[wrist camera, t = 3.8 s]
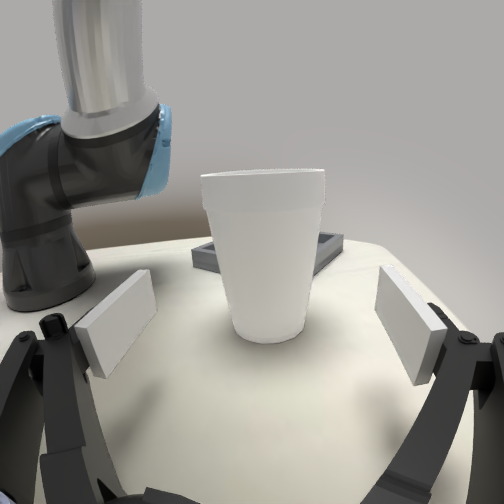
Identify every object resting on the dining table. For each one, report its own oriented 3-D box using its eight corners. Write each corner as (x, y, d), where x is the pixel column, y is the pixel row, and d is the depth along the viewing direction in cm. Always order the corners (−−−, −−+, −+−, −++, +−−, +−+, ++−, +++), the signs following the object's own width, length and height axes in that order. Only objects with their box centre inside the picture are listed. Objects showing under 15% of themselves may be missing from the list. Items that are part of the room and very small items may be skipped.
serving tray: (193, 266, 40) (191, 249, 39) (257, 238, 52) (257, 225, 52) (295, 290, 31) (296, 269, 30) (342, 250, 43) (343, 234, 42)
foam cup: (213, 305, 29) (200, 174, 25) (301, 293, 30) (299, 167, 26) (222, 363, 20) (200, 178, 16) (339, 342, 21) (348, 171, 17)
